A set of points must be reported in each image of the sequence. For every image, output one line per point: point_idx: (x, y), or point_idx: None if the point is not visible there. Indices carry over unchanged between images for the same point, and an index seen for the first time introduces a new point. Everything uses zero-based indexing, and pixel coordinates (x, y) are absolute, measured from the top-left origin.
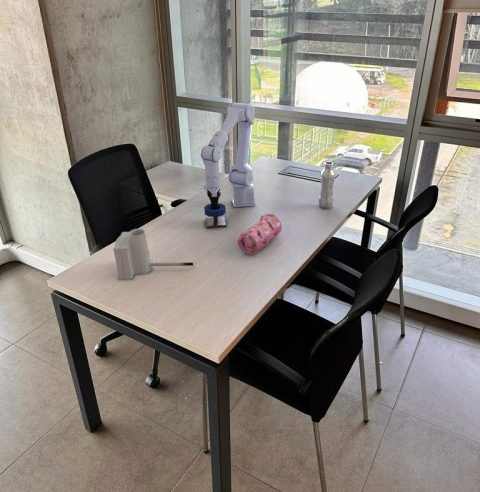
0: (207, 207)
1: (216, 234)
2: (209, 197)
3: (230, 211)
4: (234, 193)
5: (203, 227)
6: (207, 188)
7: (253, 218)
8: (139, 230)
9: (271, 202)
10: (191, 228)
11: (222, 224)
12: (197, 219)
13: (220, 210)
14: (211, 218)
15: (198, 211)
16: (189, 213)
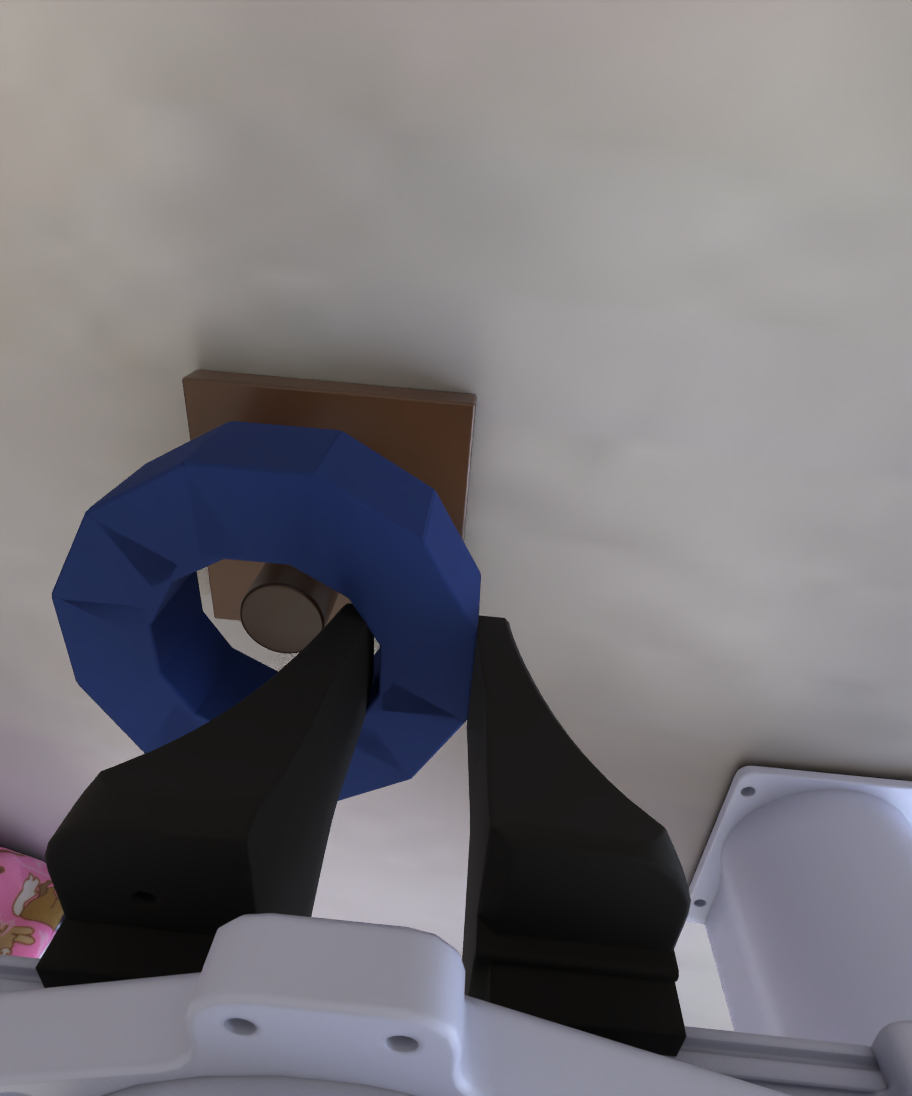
0: (274, 536)
1: (20, 466)
2: (155, 761)
3: (649, 713)
4: (869, 936)
5: (236, 320)
6: (78, 1052)
7: (397, 849)
8: None
9: (694, 1010)
10: (212, 96)
11: (228, 584)
12: (550, 254)
13: (116, 717)
14: (443, 481)
15: (871, 310)
16: (876, 115)
